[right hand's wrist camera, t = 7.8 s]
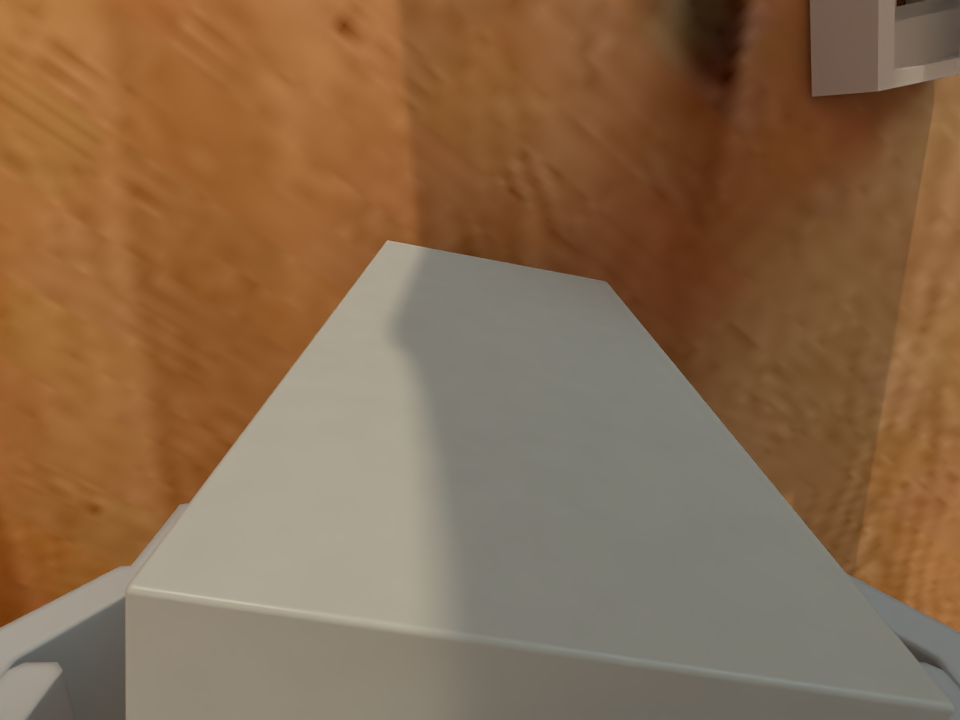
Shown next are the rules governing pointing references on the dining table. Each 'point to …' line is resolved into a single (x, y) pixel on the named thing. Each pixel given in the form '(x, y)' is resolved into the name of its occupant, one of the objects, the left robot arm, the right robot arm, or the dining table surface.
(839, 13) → the white angled block
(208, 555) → the box
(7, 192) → the dining table surface
